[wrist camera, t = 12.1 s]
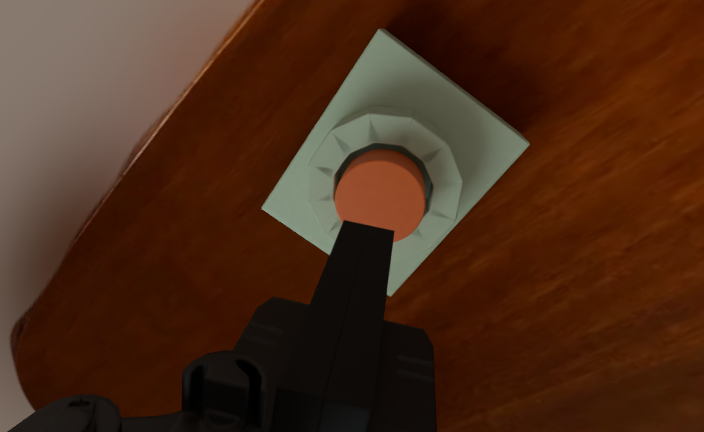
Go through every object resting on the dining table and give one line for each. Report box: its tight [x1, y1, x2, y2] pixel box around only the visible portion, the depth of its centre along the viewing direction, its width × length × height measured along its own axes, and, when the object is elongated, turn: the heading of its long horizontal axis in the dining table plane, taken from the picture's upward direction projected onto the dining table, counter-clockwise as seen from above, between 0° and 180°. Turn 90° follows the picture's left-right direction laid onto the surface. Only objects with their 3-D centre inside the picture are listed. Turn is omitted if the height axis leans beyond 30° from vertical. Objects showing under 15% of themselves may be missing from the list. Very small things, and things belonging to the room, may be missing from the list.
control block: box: [262, 29, 530, 296], centre depth 20 cm, size 10×8×4 cm
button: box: [335, 149, 426, 243], centre depth 18 cm, size 4×4×2 cm
